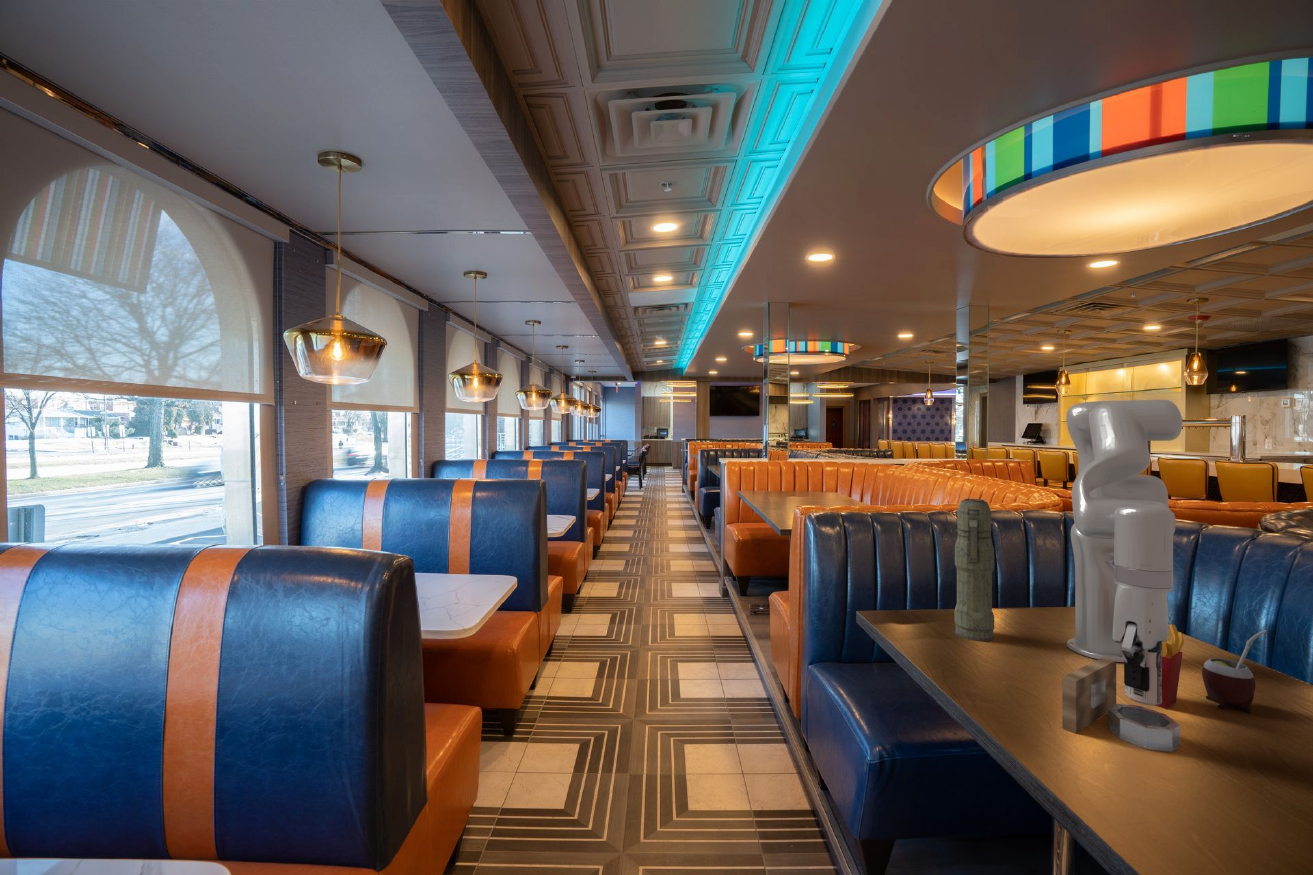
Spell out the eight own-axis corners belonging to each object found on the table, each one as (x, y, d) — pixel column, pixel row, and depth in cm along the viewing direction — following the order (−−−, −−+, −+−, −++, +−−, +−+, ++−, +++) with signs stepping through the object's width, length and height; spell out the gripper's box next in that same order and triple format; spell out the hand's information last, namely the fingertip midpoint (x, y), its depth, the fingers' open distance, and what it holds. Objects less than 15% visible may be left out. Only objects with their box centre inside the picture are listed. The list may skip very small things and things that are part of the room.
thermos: (956, 640, 138) (956, 501, 138) (952, 625, 149) (952, 496, 149) (997, 645, 134) (997, 503, 134) (990, 630, 145) (990, 498, 145)
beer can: (1169, 708, 90) (1169, 635, 91) (1136, 705, 91) (1136, 633, 91) (1149, 695, 95) (1149, 626, 95) (1118, 692, 96) (1118, 624, 96)
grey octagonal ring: (1122, 719, 99) (1122, 699, 99) (1185, 741, 92) (1185, 720, 92) (1102, 732, 95) (1102, 712, 95) (1166, 756, 88) (1166, 735, 88)
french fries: (1172, 712, 102) (1172, 632, 102) (1116, 695, 109) (1116, 619, 109) (1187, 700, 106) (1187, 623, 106) (1133, 684, 113) (1133, 611, 113)
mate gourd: (1194, 700, 106) (1194, 623, 106) (1214, 692, 109) (1214, 618, 110) (1248, 718, 99) (1248, 636, 99) (1268, 709, 103) (1267, 629, 103)
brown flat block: (1103, 703, 105) (1103, 656, 105) (1118, 708, 103) (1118, 661, 103) (1062, 728, 96) (1062, 677, 96) (1078, 734, 94) (1078, 682, 94)
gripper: (1134, 567, 101) (1134, 665, 101) (1094, 579, 92) (1095, 687, 92) (1189, 575, 95) (1189, 681, 95) (1152, 589, 86) (1152, 706, 86)
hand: (1143, 683), depth 93 cm, fingers closed on beer can, 4 cm apart
